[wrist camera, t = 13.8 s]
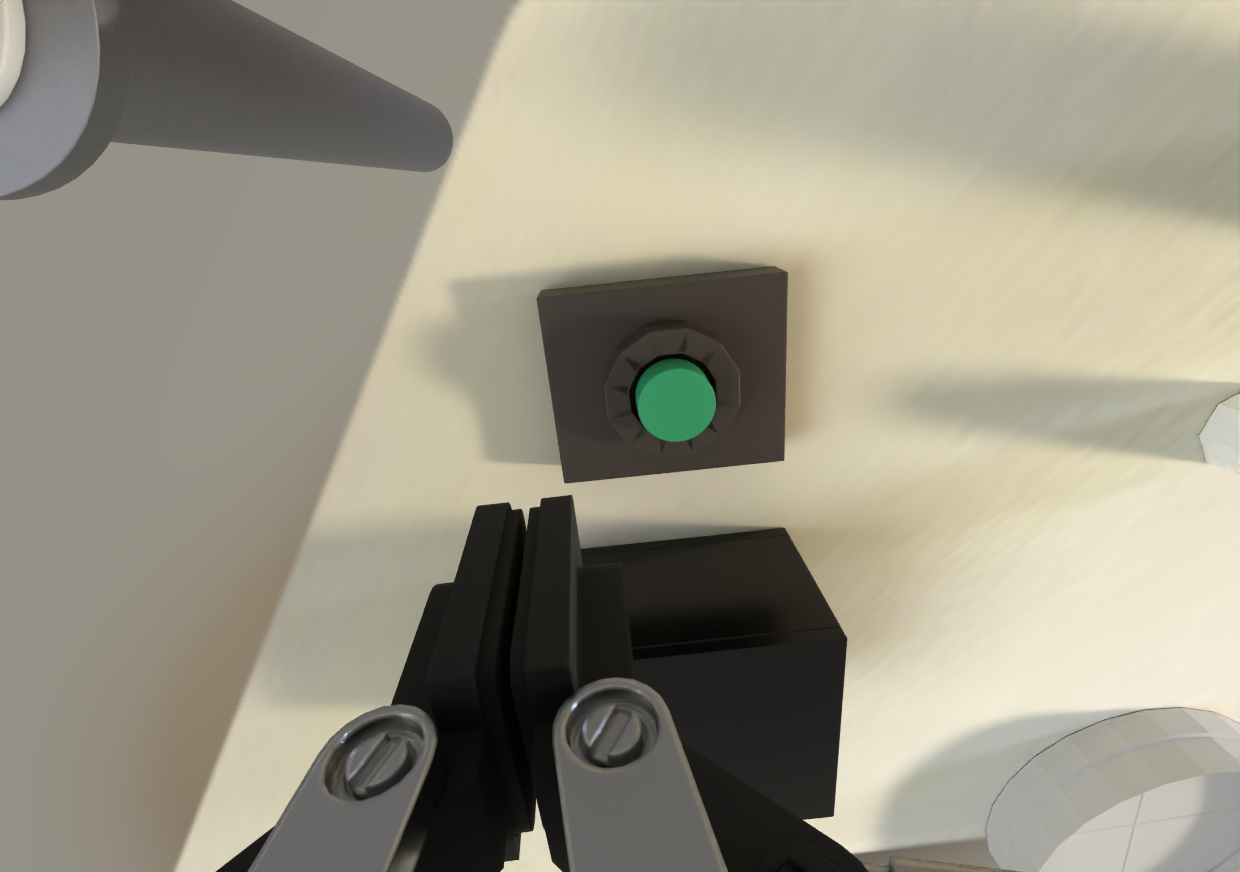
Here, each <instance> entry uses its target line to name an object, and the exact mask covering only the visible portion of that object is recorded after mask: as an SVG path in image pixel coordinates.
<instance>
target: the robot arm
mask: <svg viewBox="0 0 1240 872" xmlns="http://www.w3.org/2000/svg"><path fill="white" fill-rule="evenodd" d="M25 24H26V21H25V15H24V9H23V3H22V0H0V107H1V106H2V105H3V103H4V102H5V101H6V100H7V99H8V98H9V96H10V94H11V92H12V90H13V88H14V86H15V84H16V82H17V80H18V78H19V75H20V71H21V67H22V62H23V58H24V54H25ZM536 799H537V803H538V808H539V812H540V816H541V821H542V825H543V828H544V829H545V832H546V837H547V841H548V845H549V850H550V854H551V859H552V862H553V863H554V864H555V865H556V866H557V867H558V868H559V869H560V870H561V871H562V872H1021V871H1012V870H1004V869H995V868H986V867H979V866H970V865H962V864H953V863H944V862H937V861H928V860H920V859H911V858H902V857H895V856H890V860H889V865H880V864H872V863H864V862H861V861H859V860H858V859H857V858H856V857H855V856H853V855H852V854H851V853H850V852H849V851H848V850H846V849H845V848H844V847H843V846H842V845H840V844H839V843H837V842H835V841H834V840H832V839H831V838H829V837H828V836H826V835H825V834H823V833H822V832H820V831H819V830H817V829H816V828H814V827H812V826H811V825H809V824H808V823H806V822H805V821H803V820H802V819H800V818H799V817H797V816H796V815H794V814H793V813H791V812H789V811H788V810H786V809H785V808H783V807H782V806H780V805H779V804H777V803H776V802H774V801H773V800H771V799H769V798H768V797H766V796H765V795H763V794H762V793H760V792H759V791H757V790H756V789H754V788H753V787H751V786H750V785H748V784H746V783H745V782H743V781H742V780H740V779H739V778H737V777H736V776H734V775H733V774H731V773H730V772H728V771H727V770H725V769H723V768H722V767H720V766H719V765H717V764H716V763H714V762H713V761H711V760H710V759H708V758H707V757H705V756H704V755H702V754H700V753H699V752H697V751H696V750H694V749H693V748H691V747H690V746H688V745H687V744H685V743H684V742H682V741H680V739H679V736H678V733H677V731H676V728H675V725H674V722H673V720H672V717H671V714H670V711H669V709H668V707H667V706H666V704H665V702H664V701H663V699H662V697H661V696H660V695H659V694H658V693H657V692H655V691H654V690H653V689H652V688H651V687H650V686H648V685H646V684H643V683H641V682H639V681H636V678H635V670H634V661H633V653H632V645H631V637H630V629H629V620H628V612H627V604H626V596H625V588H624V579H623V571H622V563H612V564H604V565H596V566H587V567H583V565H582V558H581V551H580V544H579V537H578V530H577V523H576V516H575V509H574V503H573V497H572V495H568V496H559V497H551V498H542V499H541V504H540V507H534V508H530V511H529V519H528V526H527V531H526V525H525V520H524V515H523V511H522V509H517V510H512V508H511V505H510V503H509V502H507V503H499V504H490V505H481V506H477V508H476V510H475V514H474V517H473V520H472V524H471V527H470V530H469V534H468V537H467V540H466V544H465V547H464V550H463V554H462V557H461V561H460V564H459V567H458V571H457V574H456V577H455V581H454V582H453V583H445V584H437V585H435V586H434V587H433V588H432V590H431V592H430V595H429V598H428V600H427V603H426V606H425V609H424V612H423V615H422V618H421V620H420V623H419V626H418V629H417V632H416V635H415V638H414V641H413V643H412V646H411V649H410V652H409V655H408V658H407V661H406V664H405V666H404V669H403V672H402V675H401V678H400V681H399V684H398V686H397V689H396V692H395V695H394V698H393V701H392V704H391V706H383V707H380V708H377V709H375V710H372V711H369V712H366V713H364V714H362V715H361V716H359V717H357V718H356V719H354V720H352V721H351V722H349V723H347V724H346V725H345V726H344V727H342V728H341V729H340V730H339V731H338V732H337V733H336V734H335V735H333V736H332V737H331V738H330V739H329V741H328V742H327V743H326V745H325V746H324V747H323V749H322V750H321V751H320V752H319V754H318V755H317V757H316V759H315V760H314V762H313V764H312V765H311V767H310V769H309V770H308V772H307V774H306V775H305V777H304V779H303V780H302V782H301V784H300V785H299V787H298V789H297V790H296V792H295V794H294V795H293V797H292V799H291V800H290V802H289V804H288V805H287V807H286V809H285V810H284V812H283V814H282V815H281V817H280V819H279V820H278V822H277V824H276V825H275V826H274V827H273V828H272V829H270V830H269V831H268V832H266V833H265V834H264V835H262V836H261V837H260V838H259V839H257V840H256V841H255V842H253V843H252V844H251V845H250V846H248V847H247V848H246V849H244V850H243V851H242V852H241V853H239V854H238V855H237V856H235V857H234V858H233V859H231V860H230V861H229V862H228V863H226V864H225V865H224V866H222V867H221V868H220V869H219V870H217V871H216V872H500V871H501V870H502V869H503V868H504V862H505V861H513V860H519V853H520V841H521V833H523V832H530V831H533V829H534V823H535V809H536Z"/></svg>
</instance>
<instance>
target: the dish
mask: <svg viewBox="0 0 1240 872" xmlns="http://www.w3.org/2000/svg"><path fill="white" fill-rule="evenodd" d="M986 835H987V845H988V850H989V852H990V853H991V855H992V857H993V858H994V860H995V862H996V863H997V865H998V867H999V868H1000V869H1004V870H1012V871H1021V872H1240V724H1239V723H1237V722H1235V721H1233V720H1230V719H1228V718H1226V717H1224V716H1222V715H1219V714H1217V713H1215V712H1209V711H1202V710H1195V709H1188V708H1168V709H1154V710H1143V711H1139V712H1135V713H1131V714H1127V715H1123V716H1119V717H1115V718H1111V719H1107V720H1104V721H1102V722H1099V723H1097V724H1095V725H1092V726H1090V727H1088V728H1085V729H1083V730H1081V731H1078V732H1076V733H1074V734H1071V735H1069V736H1067V737H1065V738H1064V739H1062V740H1061V741H1059V742H1057V743H1056V744H1054V745H1053V746H1051V747H1050V748H1048V749H1046V750H1045V751H1043V752H1042V753H1040V754H1038V755H1037V756H1035V757H1034V758H1033V759H1032V760H1031V761H1030V762H1029V763H1028V764H1027V765H1025V766H1024V767H1023V768H1022V769H1021V770H1020V771H1019V772H1018V773H1017V774H1016V775H1015V776H1014V777H1013V778H1012V779H1011V780H1009V782H1008V783H1007V785H1006V786H1005V788H1004V789H1003V791H1002V792H1001V794H1000V795H999V797H998V798H997V800H996V801H995V803H994V804H993V806H992V809H991V813H990V816H989V819H988V823H987V826H986ZM1237 867H1238V868H1237Z"/></svg>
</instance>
